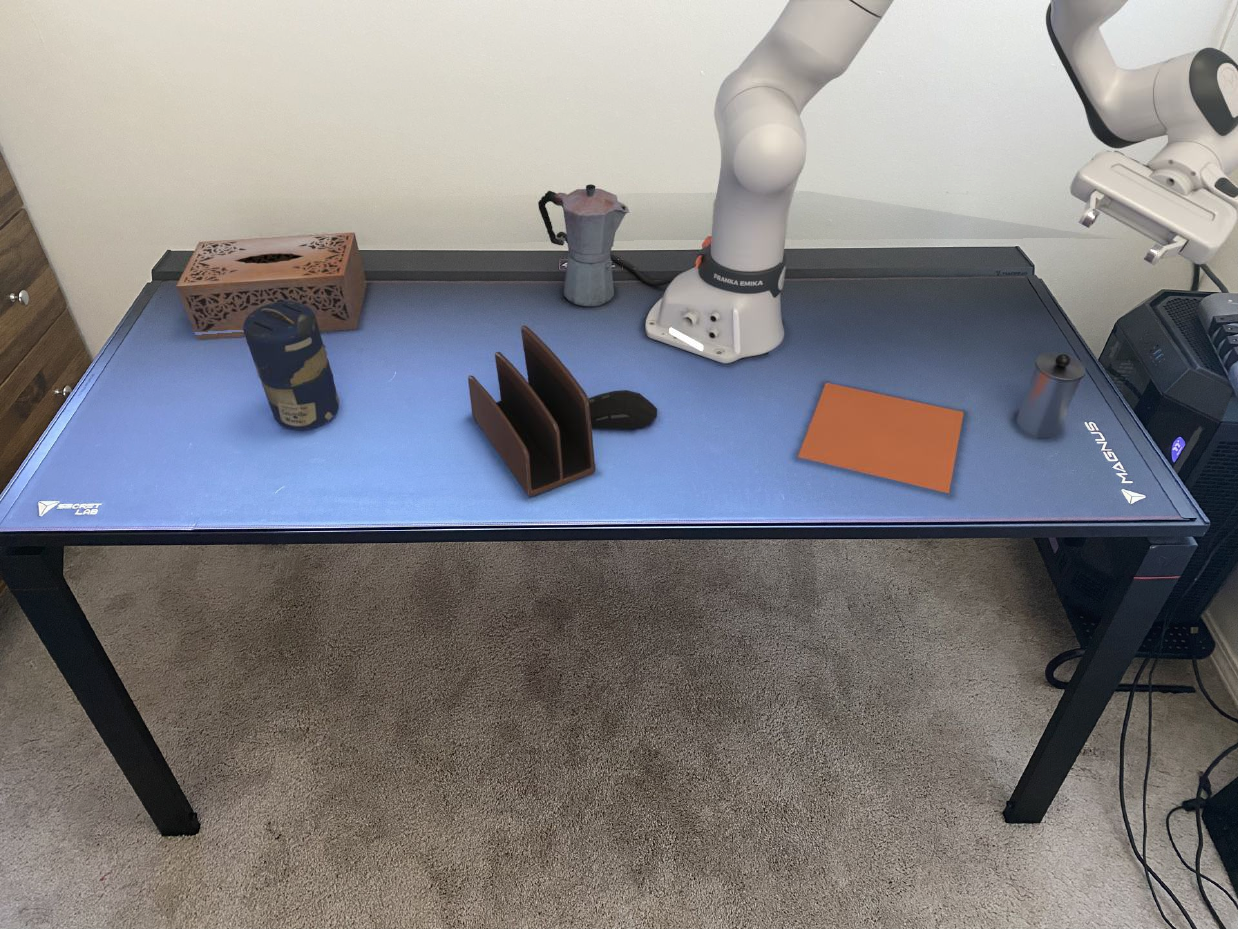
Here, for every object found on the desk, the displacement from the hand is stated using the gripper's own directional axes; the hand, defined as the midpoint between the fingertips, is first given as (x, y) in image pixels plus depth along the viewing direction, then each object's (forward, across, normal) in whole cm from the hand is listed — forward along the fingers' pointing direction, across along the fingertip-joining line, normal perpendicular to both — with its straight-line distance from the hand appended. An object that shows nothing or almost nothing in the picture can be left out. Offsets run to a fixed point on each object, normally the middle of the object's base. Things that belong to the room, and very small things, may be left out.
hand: (1117, 240), depth 116 cm
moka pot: (+40, -64, +29) cm, 80 cm away
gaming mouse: (+59, -38, +18) cm, 72 cm away
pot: (+16, +7, +20) cm, 27 cm away
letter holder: (+70, -41, +15) cm, 82 cm away
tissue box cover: (+80, -96, +24) cm, 127 cm away
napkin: (+33, -7, +18) cm, 39 cm away
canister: (+89, -68, +16) cm, 114 cm away
